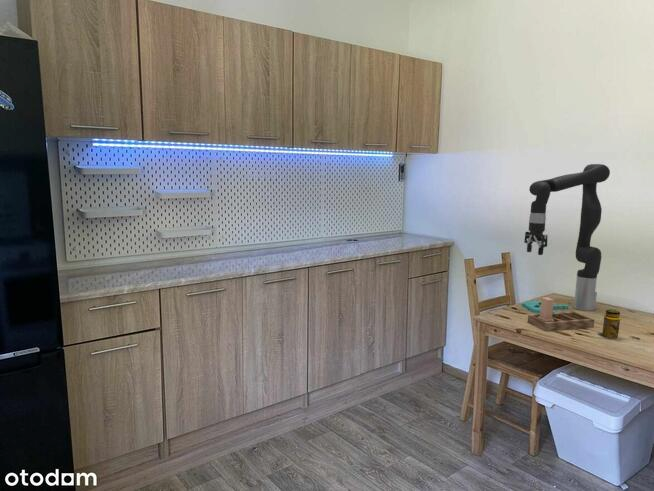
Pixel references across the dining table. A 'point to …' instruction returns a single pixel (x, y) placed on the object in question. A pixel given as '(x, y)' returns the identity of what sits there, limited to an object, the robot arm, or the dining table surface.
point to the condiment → (610, 325)
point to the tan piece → (546, 309)
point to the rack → (562, 321)
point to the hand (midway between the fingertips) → (534, 253)
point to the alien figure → (537, 305)
